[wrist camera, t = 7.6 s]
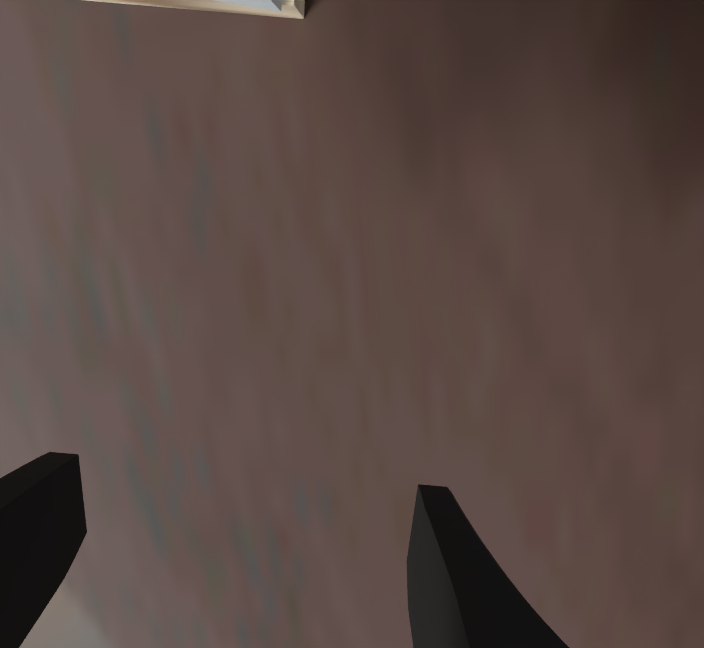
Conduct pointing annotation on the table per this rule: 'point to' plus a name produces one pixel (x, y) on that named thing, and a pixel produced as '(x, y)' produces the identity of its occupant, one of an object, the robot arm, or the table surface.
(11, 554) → the robot arm
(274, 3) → the grey-blue slab
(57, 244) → the table surface
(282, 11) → the birch slab
